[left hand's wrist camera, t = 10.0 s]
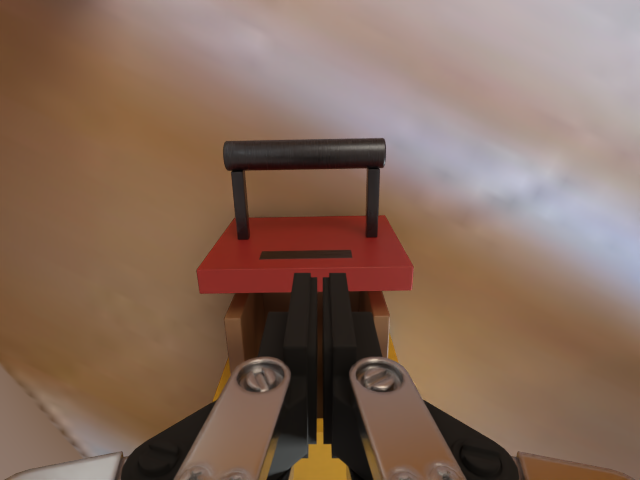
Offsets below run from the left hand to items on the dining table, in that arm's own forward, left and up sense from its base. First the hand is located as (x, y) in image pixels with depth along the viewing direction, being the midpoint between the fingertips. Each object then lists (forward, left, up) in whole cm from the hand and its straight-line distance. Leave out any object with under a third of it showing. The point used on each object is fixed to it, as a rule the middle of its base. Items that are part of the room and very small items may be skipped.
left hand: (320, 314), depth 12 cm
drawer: (+3, -7, -13) cm, 15 cm away
